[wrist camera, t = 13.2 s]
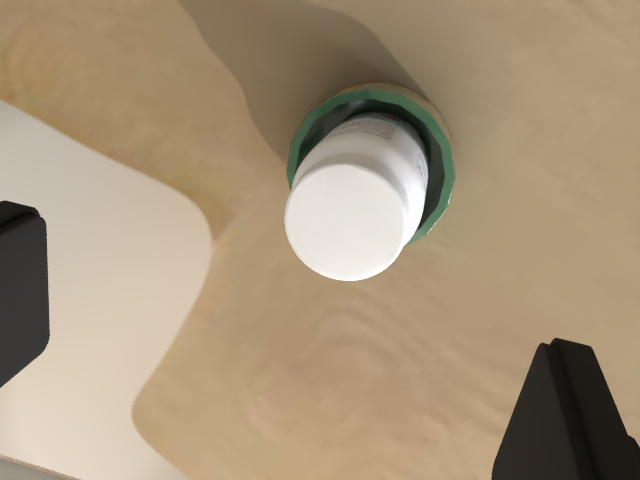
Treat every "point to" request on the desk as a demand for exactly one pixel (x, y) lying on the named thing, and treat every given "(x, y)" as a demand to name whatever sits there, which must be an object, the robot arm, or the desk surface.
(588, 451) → the robot arm
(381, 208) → the pill bottle
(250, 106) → the desk surface
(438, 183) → the green round container
